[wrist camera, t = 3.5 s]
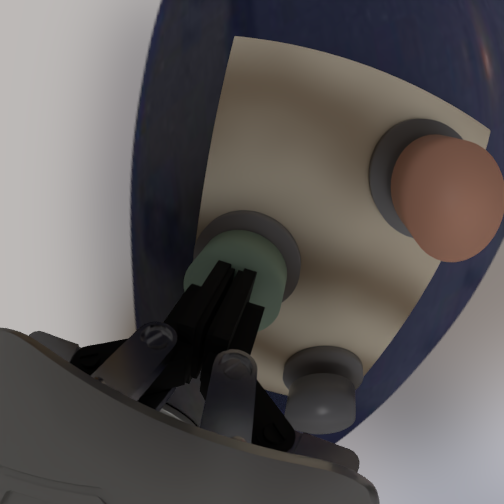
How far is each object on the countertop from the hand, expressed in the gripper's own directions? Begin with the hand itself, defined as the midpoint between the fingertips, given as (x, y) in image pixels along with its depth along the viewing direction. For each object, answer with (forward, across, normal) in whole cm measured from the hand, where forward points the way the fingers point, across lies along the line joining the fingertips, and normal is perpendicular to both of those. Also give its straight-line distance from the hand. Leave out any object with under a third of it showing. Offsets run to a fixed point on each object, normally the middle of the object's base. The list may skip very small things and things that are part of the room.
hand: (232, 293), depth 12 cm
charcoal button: (+1, -7, +7) cm, 10 cm away
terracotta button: (+1, -7, -7) cm, 10 cm away
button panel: (+6, -3, 0) cm, 7 cm away
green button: (+2, 0, 0) cm, 2 cm away
